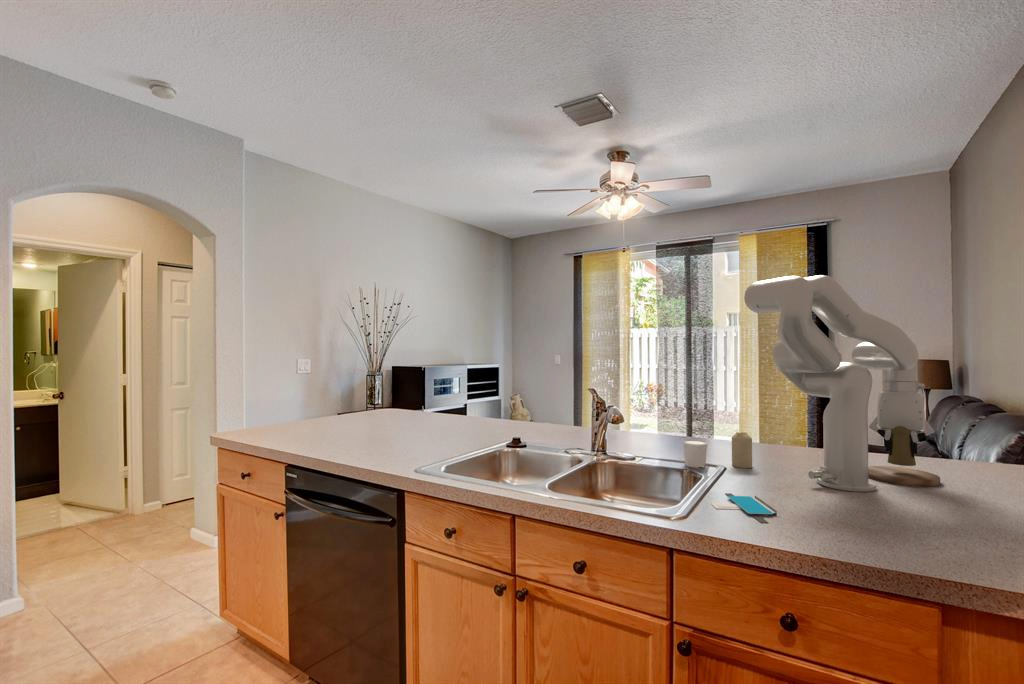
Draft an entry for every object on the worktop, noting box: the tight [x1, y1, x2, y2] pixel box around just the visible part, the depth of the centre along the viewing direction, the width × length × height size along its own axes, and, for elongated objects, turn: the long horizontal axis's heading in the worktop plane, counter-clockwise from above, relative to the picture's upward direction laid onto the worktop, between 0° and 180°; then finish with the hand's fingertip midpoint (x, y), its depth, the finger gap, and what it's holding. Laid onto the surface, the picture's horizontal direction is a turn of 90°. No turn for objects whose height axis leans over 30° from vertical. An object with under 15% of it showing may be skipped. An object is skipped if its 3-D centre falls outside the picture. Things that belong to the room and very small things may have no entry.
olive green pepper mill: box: [887, 426, 917, 467], centre depth 133 cm, size 6×6×11 cm
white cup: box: [682, 440, 708, 469], centre depth 148 cm, size 7×7×7 cm
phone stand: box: [710, 492, 778, 523], centre depth 109 cm, size 20×12×2 cm, turn 176°
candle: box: [731, 431, 753, 469], centre depth 147 cm, size 6×6×10 cm
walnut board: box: [868, 465, 941, 488], centre depth 132 cm, size 16×16×2 cm
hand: (901, 454), depth 132 cm, fingers closed on olive green pepper mill, 3 cm apart
